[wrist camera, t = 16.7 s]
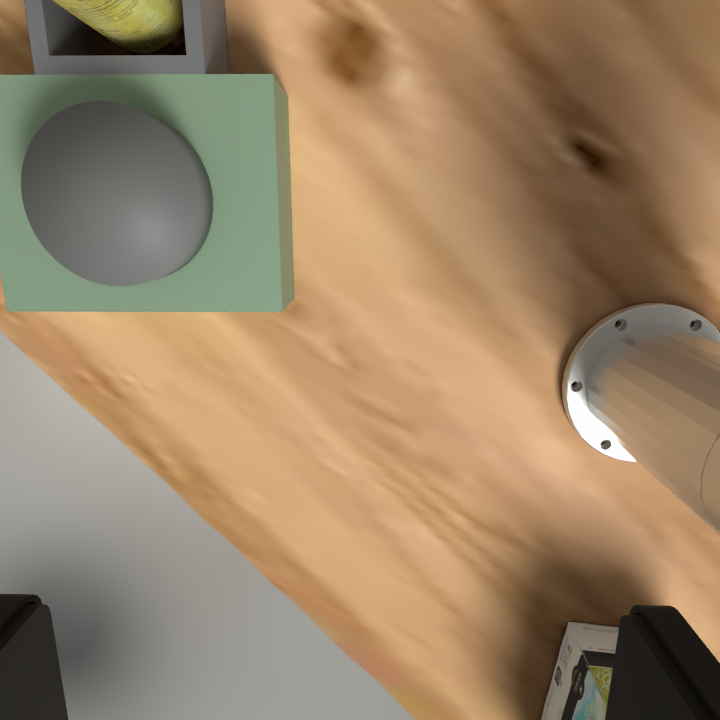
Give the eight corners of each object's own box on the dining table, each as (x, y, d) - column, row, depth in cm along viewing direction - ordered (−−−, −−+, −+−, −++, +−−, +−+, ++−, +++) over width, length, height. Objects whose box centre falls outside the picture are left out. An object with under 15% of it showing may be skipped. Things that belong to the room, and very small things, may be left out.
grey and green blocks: (282, -92, 34) (253, -198, 26) (294, 298, 41) (274, 320, 32) (2, -90, 34) (-121, -194, 26) (58, 298, 41) (-26, 319, 32)
